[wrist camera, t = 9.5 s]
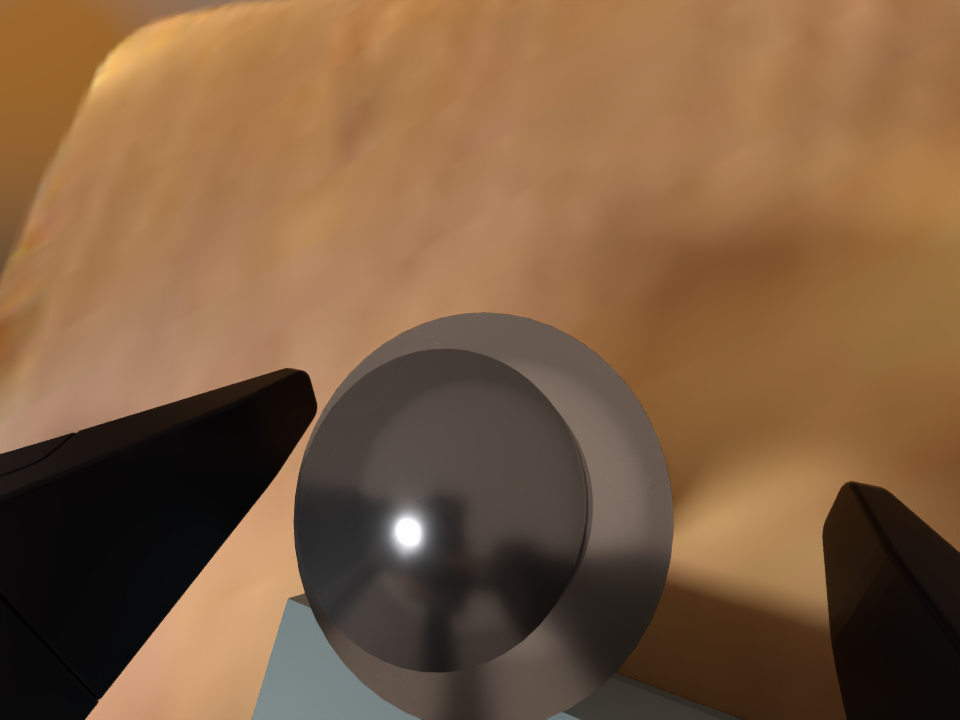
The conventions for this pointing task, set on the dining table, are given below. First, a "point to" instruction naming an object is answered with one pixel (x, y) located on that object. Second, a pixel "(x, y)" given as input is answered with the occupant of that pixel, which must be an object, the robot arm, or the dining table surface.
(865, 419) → the dining table surface
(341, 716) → the socket
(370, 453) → the grey cylindrical piece
